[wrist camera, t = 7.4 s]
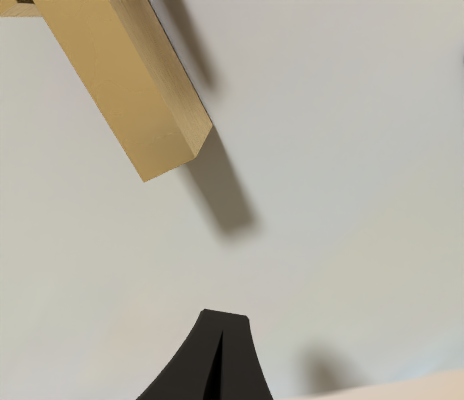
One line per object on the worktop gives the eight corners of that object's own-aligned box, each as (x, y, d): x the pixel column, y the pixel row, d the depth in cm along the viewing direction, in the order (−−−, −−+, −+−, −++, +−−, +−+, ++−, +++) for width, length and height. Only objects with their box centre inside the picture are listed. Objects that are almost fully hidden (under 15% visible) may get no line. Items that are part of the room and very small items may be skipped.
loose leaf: (239, 111, 19) (230, 141, 15) (147, 157, 21) (112, 197, 16) (108, -154, 16) (43, -223, 11) (6, -81, 17) (-90, -116, 12)
